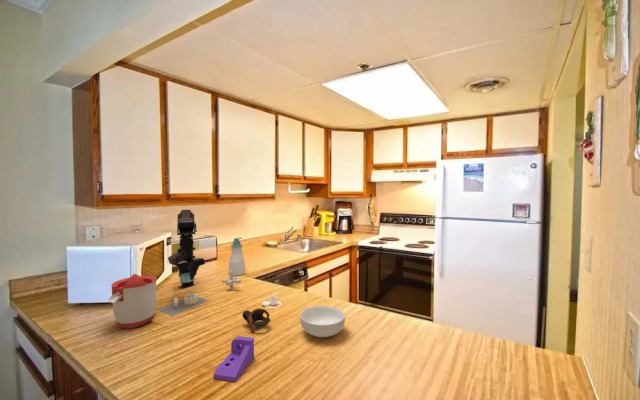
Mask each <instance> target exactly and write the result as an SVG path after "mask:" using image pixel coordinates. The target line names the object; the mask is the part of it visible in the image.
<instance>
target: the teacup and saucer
mask: <svg viewBox="0 0 640 400" xmlns="http://www.w3.org/2000/svg"><path fill="white" fill-rule="evenodd" d="M277 299H278V300H277ZM279 300H280V298H279V297H277V296H276V295H270V296H269V301H262V302H261V305H262V306H263V307H265V308H268V309H276V308H279V307H281V306H282V302H280V301H279ZM277 302H278V303H277ZM279 303H280V305H279ZM276 304H278V305H279V306H278V305H277V307H276Z"/></svg>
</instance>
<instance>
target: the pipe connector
mask: <svg viewBox="0 0 640 400" xmlns="http://www.w3.org/2000/svg"><path fill="white" fill-rule="evenodd" d="M237 277H238V276H233V271H231V272H230V274H229V278H222V280H221V283H224V284H225V285H226V286H227V287H228V286H229V291H230V292H233V291H234V284H241V283H242V280H241V279H237Z"/></svg>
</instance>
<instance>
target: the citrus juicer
mask: <svg viewBox="0 0 640 400" xmlns="http://www.w3.org/2000/svg"><path fill="white" fill-rule="evenodd" d="M110 287H111V296H110V297H109V299H108V302H109V303H111V304H112V311H113V315H114V318H115V321H116V323H117V325H118V326H119V327H120V328H122V329H134V328H137V327H141V326H143V325H146V324H148V323H150V322H151V321H152V319H153V318H154V316H155V312H156V307H157V277H156V276H153V275H138V274H137V273H133V274H132V275H131V276H130V277H126V278H121V279H119V280H116V281H114V282H113V283H111V286H110Z"/></svg>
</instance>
